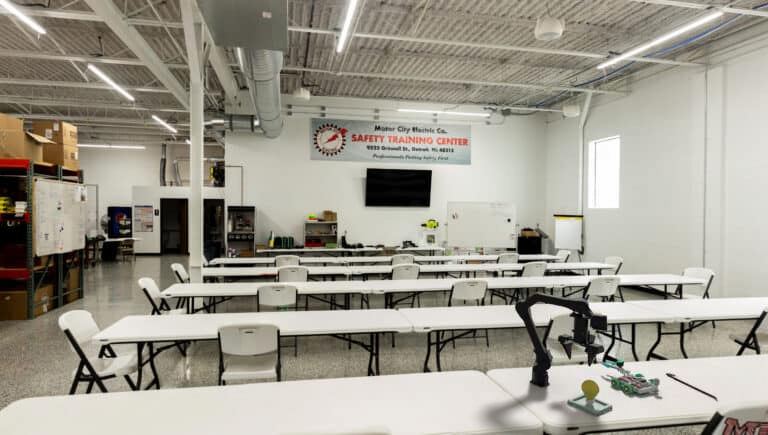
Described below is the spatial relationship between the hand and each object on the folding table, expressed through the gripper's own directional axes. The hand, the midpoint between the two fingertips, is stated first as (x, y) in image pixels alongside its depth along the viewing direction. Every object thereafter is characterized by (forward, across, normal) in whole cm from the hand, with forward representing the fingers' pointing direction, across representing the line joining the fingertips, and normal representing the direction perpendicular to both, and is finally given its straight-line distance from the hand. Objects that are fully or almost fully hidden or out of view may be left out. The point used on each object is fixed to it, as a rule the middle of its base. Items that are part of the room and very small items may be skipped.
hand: (579, 362), depth 180 cm
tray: (+13, -10, +8) cm, 18 cm away
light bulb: (+13, -10, +8) cm, 18 cm away
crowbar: (+14, -23, -53) cm, 60 cm away
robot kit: (+14, -6, -29) cm, 32 cm away
